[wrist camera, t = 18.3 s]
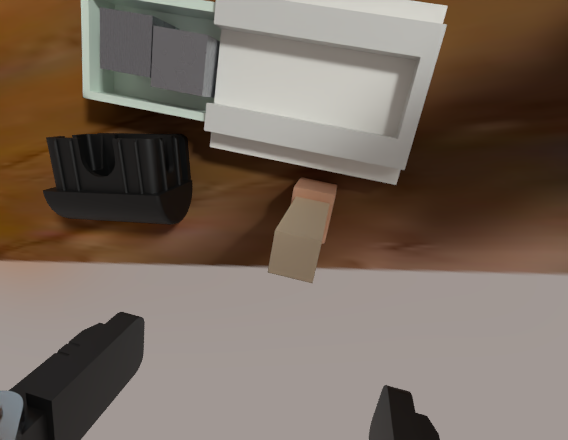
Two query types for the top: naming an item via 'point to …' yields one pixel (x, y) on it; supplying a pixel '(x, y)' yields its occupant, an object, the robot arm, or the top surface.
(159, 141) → the end cap
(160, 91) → the tray
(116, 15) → the dark grey cube
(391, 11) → the slot board
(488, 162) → the top surface
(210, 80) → the grey cube block
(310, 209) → the two-tone stepped bar
